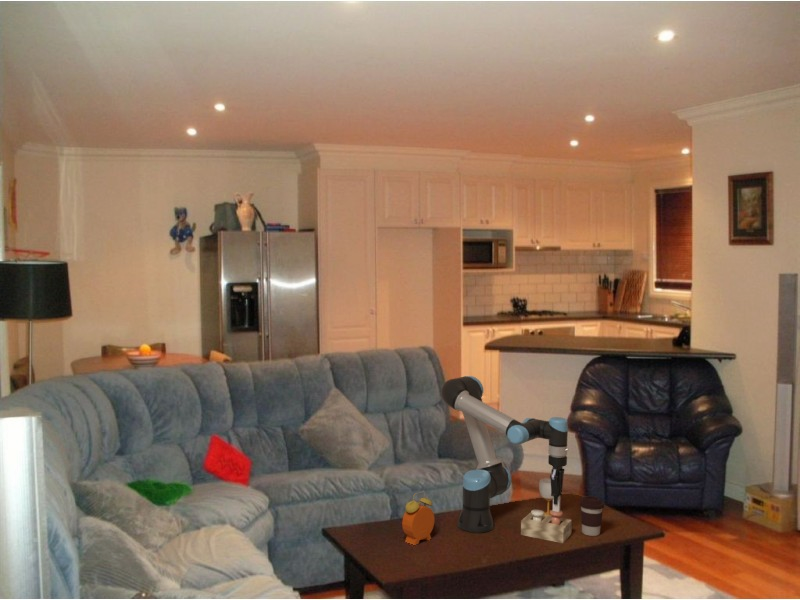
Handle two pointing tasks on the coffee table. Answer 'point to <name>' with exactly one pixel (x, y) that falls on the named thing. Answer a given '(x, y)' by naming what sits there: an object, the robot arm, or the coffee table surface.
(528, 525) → the beech block
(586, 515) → the coffee cup
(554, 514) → the terracotta plug
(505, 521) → the coffee table surface
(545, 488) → the cup
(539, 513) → the ivory plug
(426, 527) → the alarm clock
